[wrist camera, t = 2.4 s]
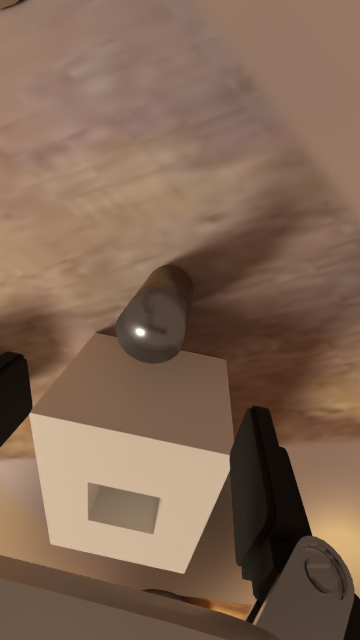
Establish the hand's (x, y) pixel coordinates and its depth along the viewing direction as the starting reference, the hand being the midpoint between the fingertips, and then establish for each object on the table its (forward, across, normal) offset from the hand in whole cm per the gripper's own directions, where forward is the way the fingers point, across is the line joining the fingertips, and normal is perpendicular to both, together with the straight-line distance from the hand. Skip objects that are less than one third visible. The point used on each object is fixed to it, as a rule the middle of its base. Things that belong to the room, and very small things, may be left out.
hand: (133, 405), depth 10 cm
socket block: (+13, +1, +14) cm, 19 cm away
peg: (+13, +1, -1) cm, 13 cm away
